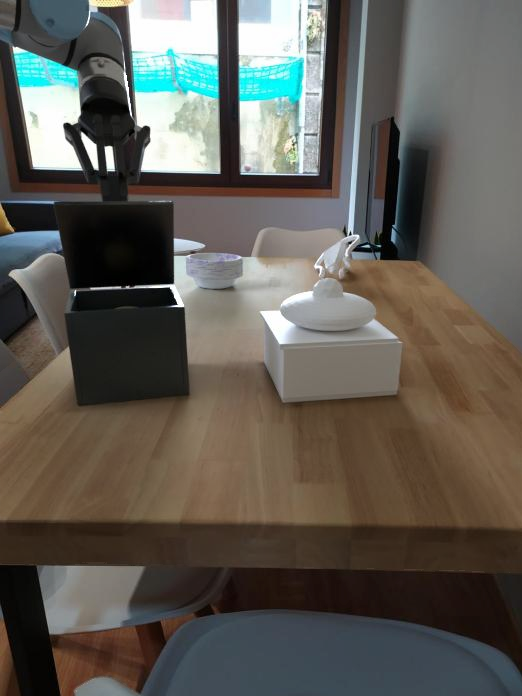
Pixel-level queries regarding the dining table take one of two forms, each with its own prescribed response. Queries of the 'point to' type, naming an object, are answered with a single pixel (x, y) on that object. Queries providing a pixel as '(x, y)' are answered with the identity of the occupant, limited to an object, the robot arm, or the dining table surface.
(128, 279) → the bin lid
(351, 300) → the butter dish
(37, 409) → the dining table surface
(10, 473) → the dining table surface
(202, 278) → the paper bowls
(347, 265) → the white angular legged piece
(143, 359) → the trash can
